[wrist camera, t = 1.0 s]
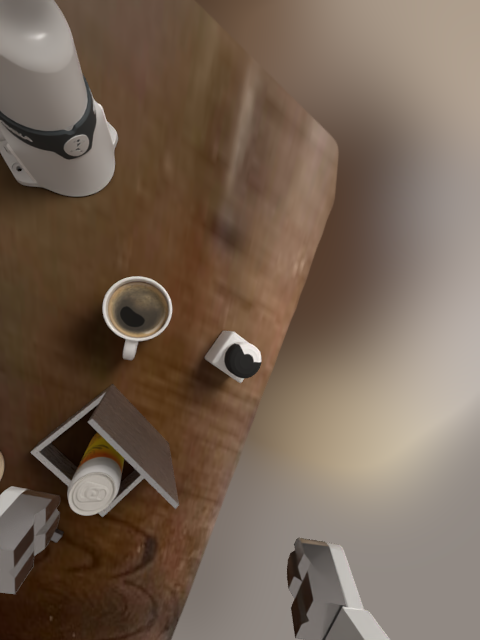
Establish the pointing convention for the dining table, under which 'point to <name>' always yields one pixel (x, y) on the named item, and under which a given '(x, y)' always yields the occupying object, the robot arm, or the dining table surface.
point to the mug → (136, 311)
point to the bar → (57, 535)
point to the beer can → (96, 478)
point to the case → (118, 446)
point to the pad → (1, 465)
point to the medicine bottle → (234, 356)
